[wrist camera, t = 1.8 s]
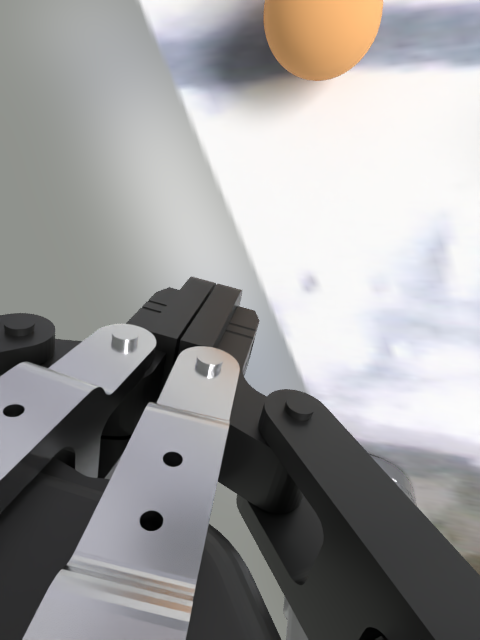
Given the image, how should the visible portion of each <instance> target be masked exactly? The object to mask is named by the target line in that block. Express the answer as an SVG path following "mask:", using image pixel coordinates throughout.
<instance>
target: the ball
mask: <svg viewBox="0 0 480 640" xmlns="http://www.w3.org/2000/svg"><path fill="white" fill-rule="evenodd" d="M382 8H383V0H265V3H264V30H265V34H266V39H267V41H268V44H269V47H270V49H271V51H272V53H273V55H274V56H275V58H276V59H277V61H278V62H279V63H280V64H281V65H282V66H283V67H284V68H285V69H286V70H287V71H288V72H290V73H292V74H293V75H295V76H297V77H300V78H303V79H306V80H313V81H321V80H327V79H332V78H335V77H337V76H339V75H341V74H344V73H345V72H347V71H348V70H350V69H351V68H352V67H354V66H355V65H356V64H357V63H358V62H359V61H360V60H361V59H362V58H363V57H364V55H365V54H366V53H367V51H368V50H369V48H370V47H371V45H372V43H373V41H374V39H375V37H376V35H377V32H378V29H379V26H380V21H381V17H382Z"/></svg>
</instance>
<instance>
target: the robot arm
mask: <svg viewBox="0 0 480 640" xmlns="http://www.w3.org/2000/svg"><path fill="white" fill-rule="evenodd" d="M241 296H242V290H240V289H236V288H232V287H228V286H224V285H221V284H217V285H216V283H213V282H209V281H206V280H202V279H199V278H195V277H190V278H189V280H188V281H187V282H186V283H185V284H184V285H183V287H182V288H181V289H180V290H177V289H173V288H170V287H169V288H167V289H164V290H161V291H158V292H156V293H155V294H154V295H153V296H152V297H151V298H150V299H149V301H148V302H146V303H145V304H144V305H143V307H142V308H140V309H139V311H138V312H137V313H136V314H135V315H134V316H133V317H132V318H131V319H130V320H129V321H128V322H127V323H126V324H112V325H108V326H104V327H102V328H100V329H98V330H96V331H95V332H94V333H93V334H91V335H90V336H89V337H88V338H86V339H85V340H84V341H71V340H60V339H55V326H54V325H53V323H52V322H51V321H49V320H48V319H46V318H44V317H41V316H38V315H34V314H26V313H17V314H7V315H0V640H281V638H280V636H279V633H278V631H277V629H276V627H275V625H274V623H273V620H272V618H271V616H270V614H269V612H268V609H267V607H266V605H265V603H264V601H263V599H262V596H261V594H260V592H259V590H258V588H257V586H256V583H255V581H254V579H253V577H252V575H251V573H250V571H249V569H248V567H247V566H246V564H245V562H244V561H243V559H242V558H241V556H240V555H239V553H238V552H237V551H236V550H235V548H234V547H233V546H232V544H231V543H230V542H229V541H228V540H227V539H226V538H225V537H224V536H223V535H222V534H221V533H220V532H219V531H218V530H216V529H215V528H214V527H213V526H211V525H210V524H209V520H210V515H211V510H212V506H213V501H214V496H215V491H216V486H217V482H220V483H221V484H223V485H224V486H226V487H227V488H229V489H231V490H232V491H234V492H235V493H237V507H238V509H239V512H240V513H241V516H242V517H243V519H244V521H245V523H246V525H247V527H248V528H249V530H250V532H251V534H252V536H253V538H254V540H255V541H256V543H257V545H258V547H259V549H260V551H261V553H262V554H263V556H264V558H265V560H266V562H267V564H268V566H269V567H270V569H271V571H272V573H273V575H274V576H275V579H276V580H277V582H278V584H279V586H280V588H281V590H282V592H283V593H284V595H285V598H284V609H283V611H284V616H285V617H286V619H287V632H286V640H480V575H479V574H478V573H477V572H476V571H475V570H474V569H473V568H472V567H471V566H470V564H469V563H468V562H467V561H466V560H465V559H464V558H463V557H462V556H461V555H460V553H459V552H458V551H457V550H456V549H455V548H454V547H453V546H452V545H451V544H450V542H449V541H448V540H447V539H446V538H445V537H444V536H443V535H442V534H441V533H440V532H439V530H438V529H437V528H436V527H435V526H434V525H433V524H432V523H431V522H430V521H429V519H428V518H427V517H426V516H425V515H424V514H423V513H422V512H421V511H420V510H419V509H418V507H417V505H416V500H415V496H414V491H413V487H412V485H411V483H410V481H409V479H408V478H407V477H406V476H405V474H404V473H403V472H402V471H401V470H400V469H398V468H397V467H396V466H395V465H393V464H391V463H389V462H388V461H386V460H384V459H382V458H378V457H375V456H372V455H369V454H368V453H367V452H366V450H365V449H364V448H363V447H362V446H361V445H360V444H359V443H358V442H357V441H356V439H355V438H354V437H353V436H352V435H351V434H350V433H349V432H348V431H347V430H346V429H345V427H344V426H343V425H342V424H341V423H340V422H339V421H338V420H337V419H336V418H335V416H334V415H333V414H332V413H331V412H330V411H329V410H328V409H327V408H326V407H325V406H324V405H323V404H322V403H321V402H320V401H319V400H317V399H316V398H314V397H313V396H311V395H308V394H306V393H303V392H300V391H296V390H288V389H284V390H278V391H274V392H272V393H271V394H269V395H268V396H267V397H266V396H265V395H263V394H261V393H259V392H258V391H256V390H255V389H253V388H252V387H251V386H250V385H249V384H248V383H247V381H246V380H245V378H244V375H245V372H246V369H247V366H248V362H249V358H250V354H251V351H252V347H253V343H254V339H255V335H256V331H257V327H258V324H259V319H258V317H257V315H256V312H255V311H253V310H250V309H246V308H243V307H239V305H240V300H241Z"/></svg>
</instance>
